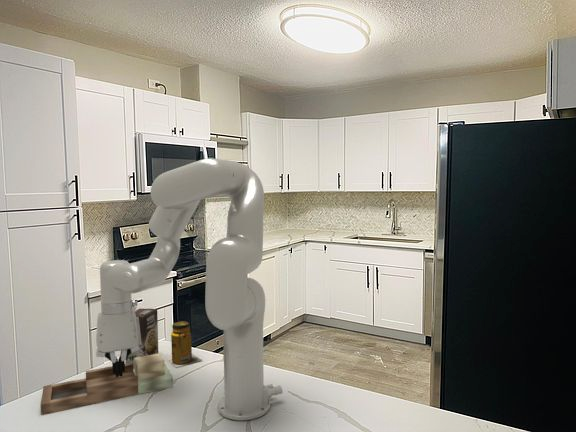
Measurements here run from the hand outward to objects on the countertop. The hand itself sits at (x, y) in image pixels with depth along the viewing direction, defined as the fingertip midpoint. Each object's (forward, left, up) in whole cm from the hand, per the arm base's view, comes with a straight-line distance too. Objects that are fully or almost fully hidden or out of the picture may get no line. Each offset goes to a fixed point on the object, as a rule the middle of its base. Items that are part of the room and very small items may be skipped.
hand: (118, 374), depth 115 cm
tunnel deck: (+2, 0, -4) cm, 4 cm away
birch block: (-8, 0, -1) cm, 8 cm away
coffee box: (-8, -15, -4) cm, 17 cm away
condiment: (-20, -11, -4) cm, 23 cm away
